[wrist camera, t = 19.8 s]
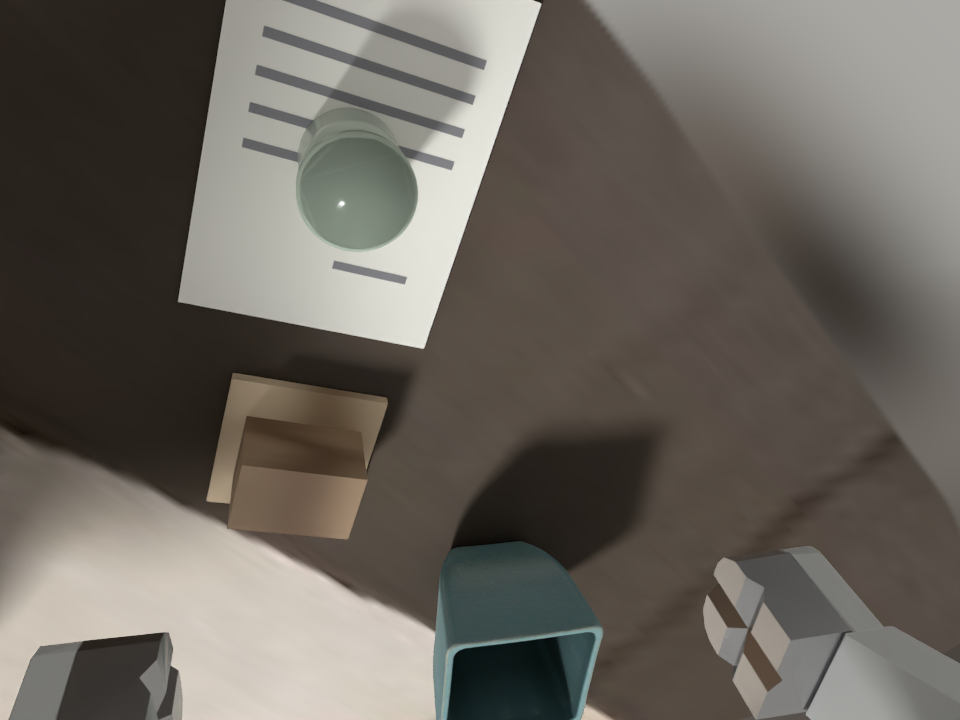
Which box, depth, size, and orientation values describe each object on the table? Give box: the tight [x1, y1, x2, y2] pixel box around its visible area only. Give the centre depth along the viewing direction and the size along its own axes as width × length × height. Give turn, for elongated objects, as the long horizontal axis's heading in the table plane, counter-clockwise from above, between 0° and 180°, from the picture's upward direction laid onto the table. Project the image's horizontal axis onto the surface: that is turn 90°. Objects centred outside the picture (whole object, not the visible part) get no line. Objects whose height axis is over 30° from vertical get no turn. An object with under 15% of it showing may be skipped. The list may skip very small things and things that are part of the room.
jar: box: [296, 108, 418, 252], centre depth 29 cm, size 5×5×5 cm
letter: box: [178, 0, 541, 349], centre depth 31 cm, size 12×17×1 cm
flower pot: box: [433, 541, 603, 720], centre depth 43 cm, size 9×9×9 cm
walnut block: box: [227, 416, 367, 539], centre depth 36 cm, size 6×4×4 cm, turn 70°
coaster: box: [207, 373, 388, 504], centre depth 38 cm, size 8×8×1 cm
